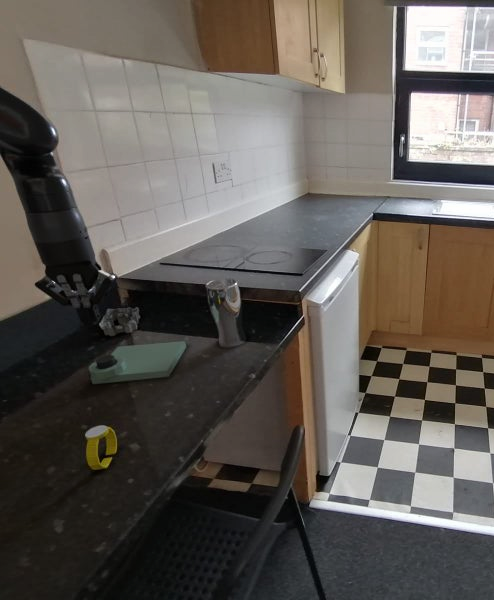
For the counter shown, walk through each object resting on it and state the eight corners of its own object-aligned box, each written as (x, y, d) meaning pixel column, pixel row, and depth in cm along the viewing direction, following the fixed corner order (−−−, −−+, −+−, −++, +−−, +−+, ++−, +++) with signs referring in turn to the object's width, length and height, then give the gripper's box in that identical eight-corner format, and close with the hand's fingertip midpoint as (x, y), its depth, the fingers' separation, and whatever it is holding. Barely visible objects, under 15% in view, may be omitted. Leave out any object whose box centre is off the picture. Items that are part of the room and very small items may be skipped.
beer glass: (210, 347, 93) (197, 287, 87) (230, 333, 99) (219, 276, 93) (235, 351, 91) (223, 291, 85) (254, 337, 98) (244, 279, 91)
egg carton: (136, 333, 99) (132, 319, 97) (100, 339, 97) (95, 324, 95) (143, 315, 108) (139, 301, 106) (111, 320, 106) (106, 306, 104)
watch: (109, 475, 60) (97, 445, 57) (88, 478, 59) (74, 448, 57) (125, 446, 65) (114, 417, 63) (106, 449, 64) (94, 419, 62)
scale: (88, 388, 79) (82, 373, 77) (118, 354, 91) (113, 340, 89) (167, 380, 81) (163, 366, 80) (186, 348, 93) (183, 334, 91)
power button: (95, 370, 79) (92, 363, 79) (102, 362, 82) (100, 355, 81) (112, 368, 80) (109, 362, 79) (118, 360, 82) (116, 354, 82)
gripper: (1, 242, 65) (41, 336, 72) (92, 238, 67) (121, 329, 74) (31, 231, 72) (65, 317, 79) (112, 227, 74) (138, 312, 81)
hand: (92, 323), depth 77 cm, fingers closed
